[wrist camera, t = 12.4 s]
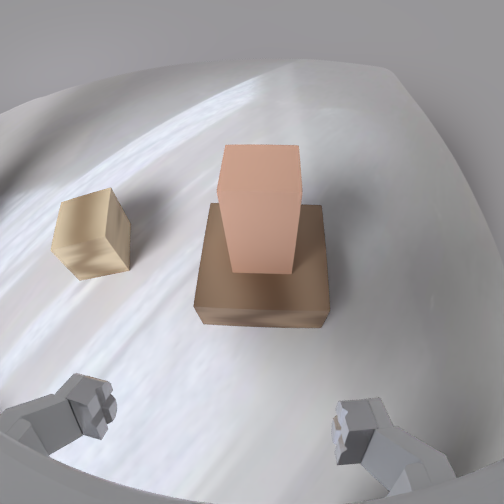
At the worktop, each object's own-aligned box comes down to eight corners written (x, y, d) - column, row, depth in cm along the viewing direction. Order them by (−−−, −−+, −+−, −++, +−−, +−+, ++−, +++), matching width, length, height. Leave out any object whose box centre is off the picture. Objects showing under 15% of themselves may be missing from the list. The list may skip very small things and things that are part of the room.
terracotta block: (232, 272, 24) (216, 191, 16) (236, 230, 26) (225, 145, 18) (291, 274, 23) (302, 192, 16) (291, 231, 25) (298, 145, 18)
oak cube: (80, 281, 28) (50, 250, 23) (85, 235, 32) (61, 202, 26) (129, 270, 29) (104, 236, 24) (130, 224, 32) (111, 187, 27)
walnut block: (203, 324, 26) (193, 306, 22) (216, 229, 31) (210, 203, 27) (321, 327, 25) (330, 310, 21) (316, 231, 30) (321, 205, 27)
